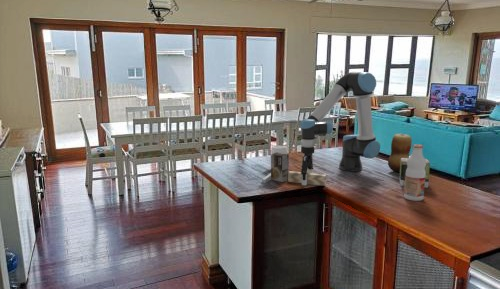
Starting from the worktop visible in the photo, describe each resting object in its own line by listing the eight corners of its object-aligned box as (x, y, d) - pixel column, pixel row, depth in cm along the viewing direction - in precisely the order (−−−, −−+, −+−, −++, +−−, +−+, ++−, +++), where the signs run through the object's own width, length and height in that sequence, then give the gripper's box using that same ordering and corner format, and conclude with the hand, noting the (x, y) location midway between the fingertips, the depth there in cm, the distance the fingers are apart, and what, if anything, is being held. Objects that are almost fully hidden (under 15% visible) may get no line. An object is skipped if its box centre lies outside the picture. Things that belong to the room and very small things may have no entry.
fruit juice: (401, 194, 202) (405, 143, 197) (420, 195, 201) (424, 143, 195) (406, 200, 193) (410, 146, 188) (425, 201, 191) (430, 147, 186)
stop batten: (276, 174, 242) (276, 171, 241) (265, 183, 224) (265, 179, 223) (273, 174, 242) (273, 171, 242) (262, 182, 224) (262, 179, 224)
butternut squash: (403, 175, 239) (406, 136, 234) (383, 171, 249) (386, 134, 244) (413, 171, 248) (416, 134, 243) (394, 168, 258) (396, 131, 253)
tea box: (426, 183, 223) (428, 158, 220) (428, 188, 213) (430, 162, 210) (398, 181, 227) (400, 157, 225) (399, 185, 218) (401, 160, 215)
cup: (285, 170, 251) (286, 148, 249) (270, 170, 253) (270, 148, 251) (287, 166, 262) (287, 145, 259) (272, 166, 264) (272, 145, 261)
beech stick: (325, 184, 221) (326, 174, 220) (324, 186, 219) (325, 176, 218) (289, 180, 230) (289, 171, 229) (288, 181, 227) (288, 172, 226)
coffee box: (288, 180, 230) (289, 154, 227) (282, 182, 225) (282, 155, 222) (277, 177, 236) (277, 152, 233) (270, 179, 231) (270, 153, 228)
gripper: (306, 142, 232) (305, 176, 236) (296, 149, 211) (295, 187, 215) (318, 143, 229) (317, 178, 233) (309, 150, 208) (308, 188, 212)
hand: (306, 182), depth 224 cm, fingers open, 11 cm apart
